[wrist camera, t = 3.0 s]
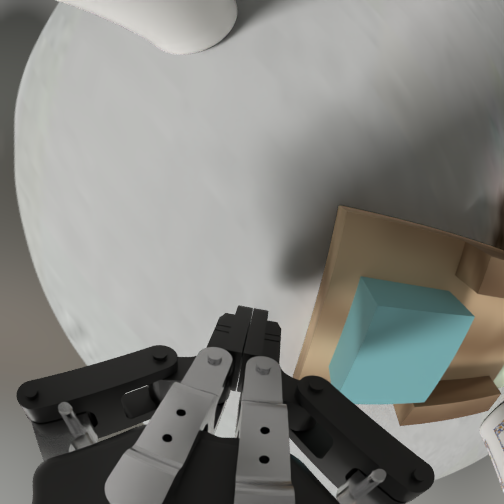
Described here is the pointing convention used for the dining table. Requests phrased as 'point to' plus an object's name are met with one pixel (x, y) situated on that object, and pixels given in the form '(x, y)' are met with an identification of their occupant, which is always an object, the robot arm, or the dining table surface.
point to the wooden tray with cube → (420, 274)
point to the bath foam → (495, 440)
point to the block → (397, 342)
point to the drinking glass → (168, 20)
